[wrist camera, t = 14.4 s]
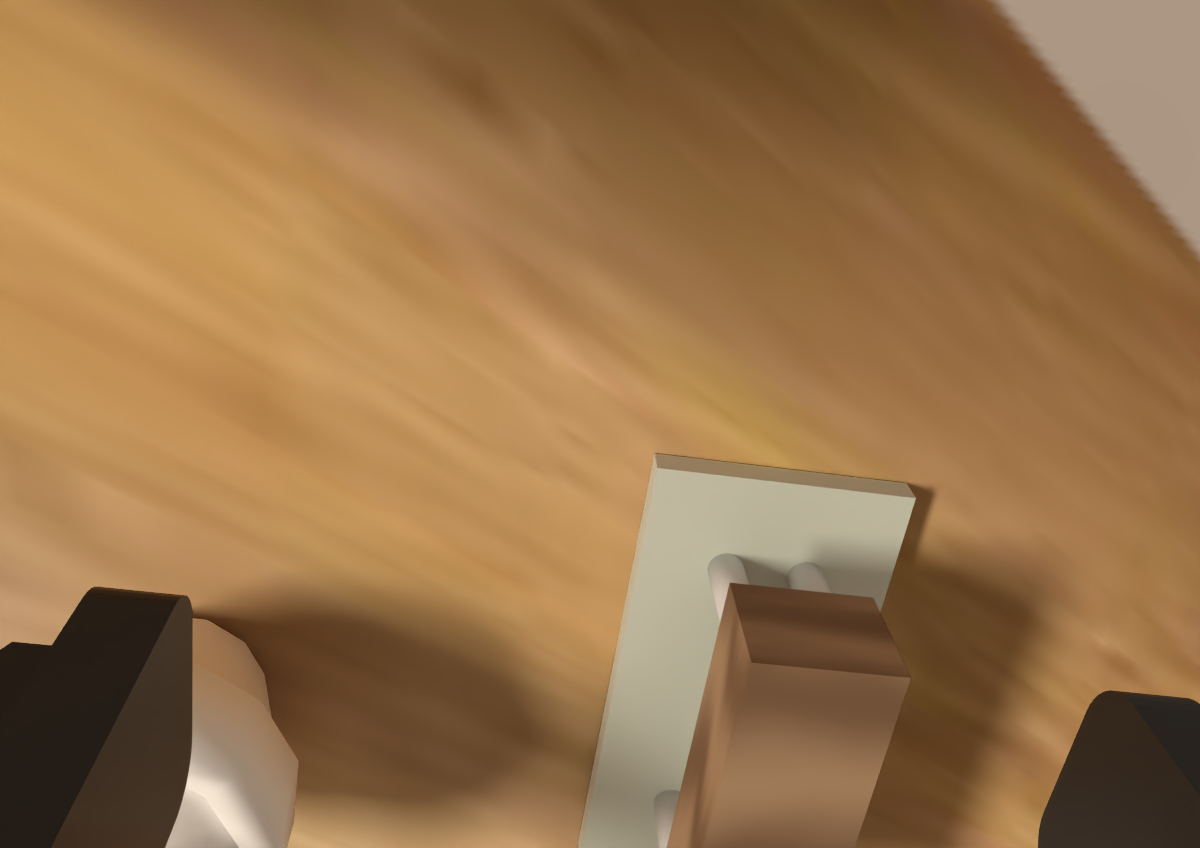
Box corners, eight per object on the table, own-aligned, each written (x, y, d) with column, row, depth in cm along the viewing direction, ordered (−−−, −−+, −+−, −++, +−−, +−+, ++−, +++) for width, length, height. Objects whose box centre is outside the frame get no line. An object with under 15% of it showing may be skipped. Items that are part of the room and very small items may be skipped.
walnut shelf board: (729, 582, 39) (751, 662, 35) (873, 597, 40) (911, 678, 36) (651, 911, 46) (662, 1010, 42) (775, 920, 46) (797, 1018, 42)
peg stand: (577, 843, 51) (581, 939, 46) (654, 453, 43) (668, 523, 38) (791, 860, 52) (816, 956, 47) (906, 483, 44) (950, 554, 39)
